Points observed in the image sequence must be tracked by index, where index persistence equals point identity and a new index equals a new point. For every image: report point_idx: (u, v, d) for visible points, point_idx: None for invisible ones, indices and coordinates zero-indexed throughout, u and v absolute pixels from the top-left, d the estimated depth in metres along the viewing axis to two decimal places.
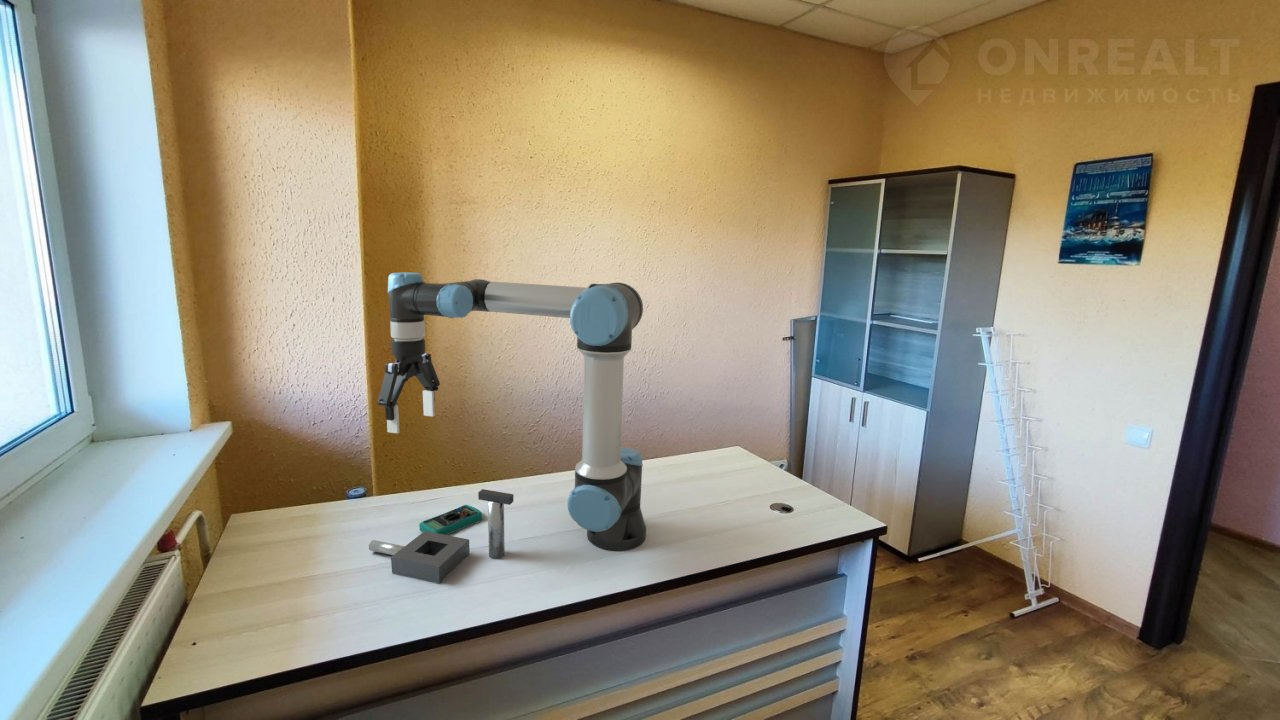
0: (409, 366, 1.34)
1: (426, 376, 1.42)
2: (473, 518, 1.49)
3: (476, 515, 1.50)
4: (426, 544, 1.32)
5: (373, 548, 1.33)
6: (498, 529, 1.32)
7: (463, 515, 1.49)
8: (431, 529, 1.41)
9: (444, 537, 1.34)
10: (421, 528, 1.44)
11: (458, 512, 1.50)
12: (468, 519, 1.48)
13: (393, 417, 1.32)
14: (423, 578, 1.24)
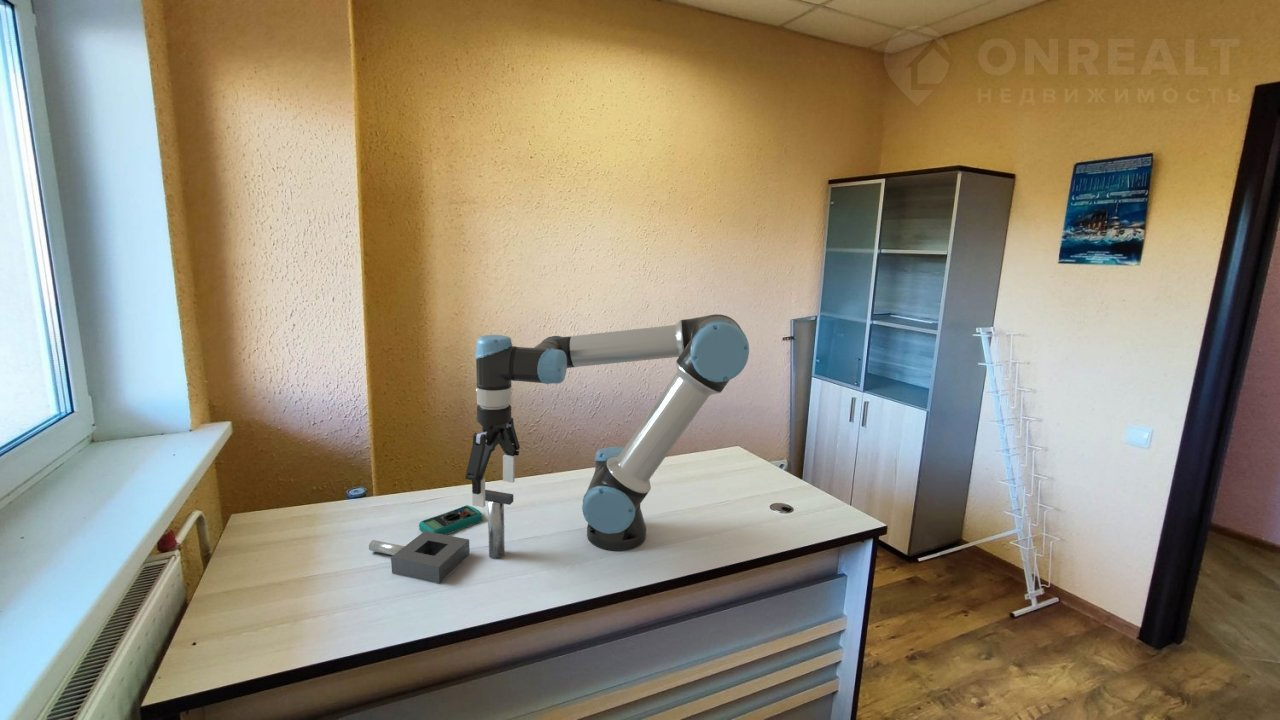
0: (495, 435, 1.26)
1: (509, 442, 1.34)
2: (473, 519, 1.48)
3: (476, 516, 1.49)
4: (426, 544, 1.32)
5: (373, 548, 1.33)
6: (498, 529, 1.32)
7: (463, 516, 1.49)
8: (429, 529, 1.41)
9: (444, 537, 1.34)
10: (420, 527, 1.44)
11: (458, 512, 1.50)
12: (468, 519, 1.47)
13: (480, 490, 1.24)
14: (423, 578, 1.24)
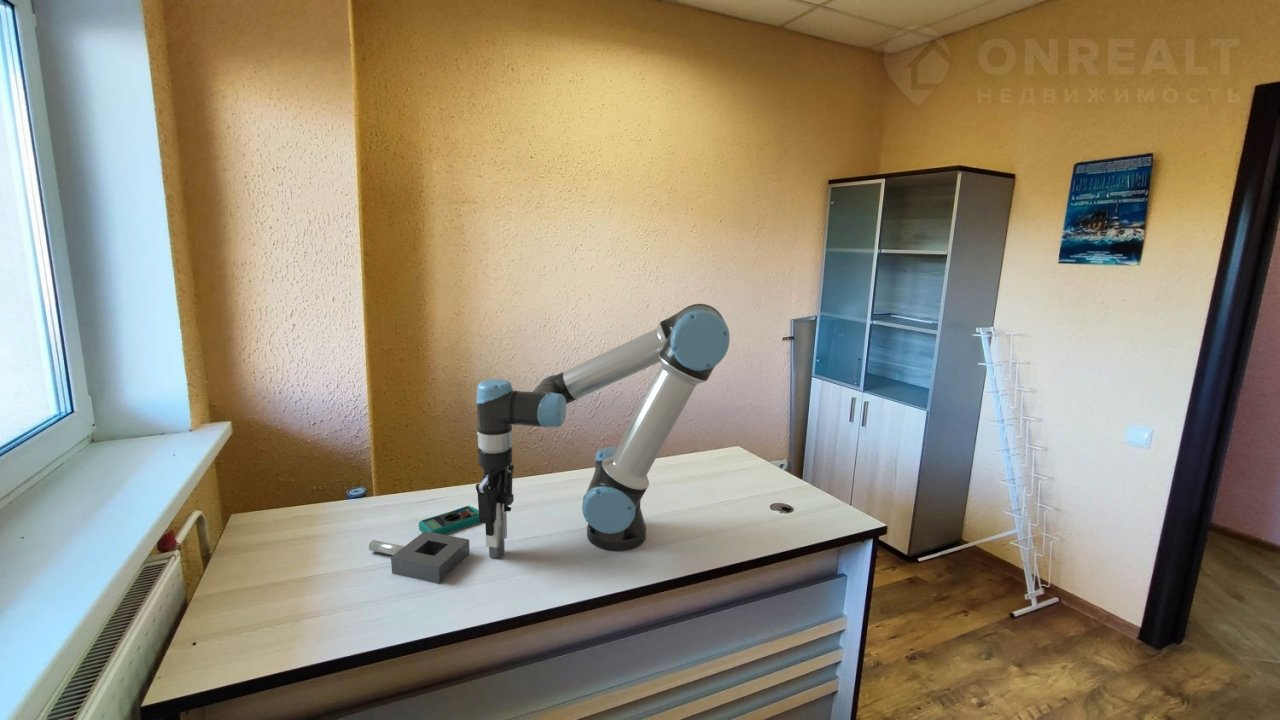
0: (496, 479, 1.29)
1: (505, 491, 1.34)
2: (473, 520, 1.48)
3: (476, 517, 1.49)
4: (426, 544, 1.32)
5: (373, 548, 1.33)
6: (498, 529, 1.32)
7: (463, 516, 1.48)
8: (428, 528, 1.41)
9: (444, 537, 1.34)
10: (420, 527, 1.44)
11: (459, 513, 1.50)
12: (467, 520, 1.47)
13: (493, 532, 1.31)
14: (423, 578, 1.24)
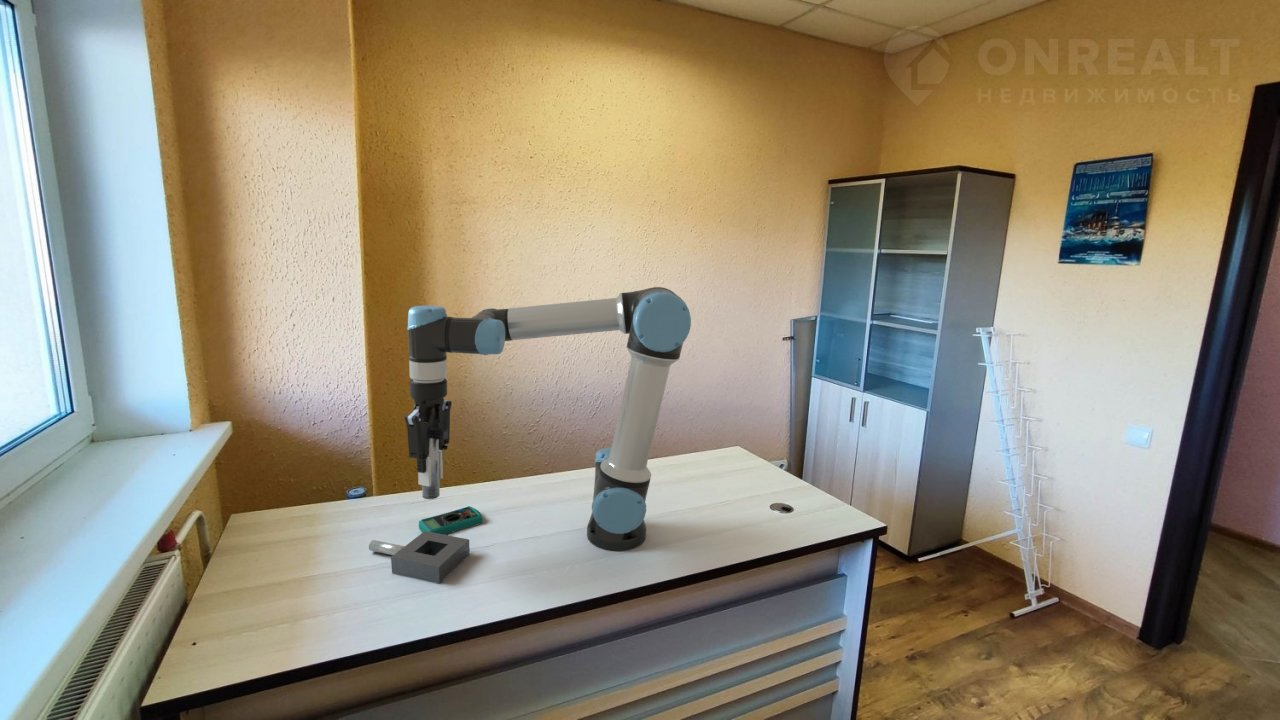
0: (429, 412, 1.21)
1: (440, 427, 1.26)
2: (472, 521, 1.48)
3: (475, 518, 1.48)
4: (426, 544, 1.32)
5: (373, 548, 1.33)
6: (431, 467, 1.24)
7: (463, 517, 1.48)
8: (426, 528, 1.42)
9: (444, 537, 1.34)
10: (419, 526, 1.45)
11: (459, 513, 1.50)
12: (466, 521, 1.47)
13: (425, 469, 1.23)
14: (423, 578, 1.24)
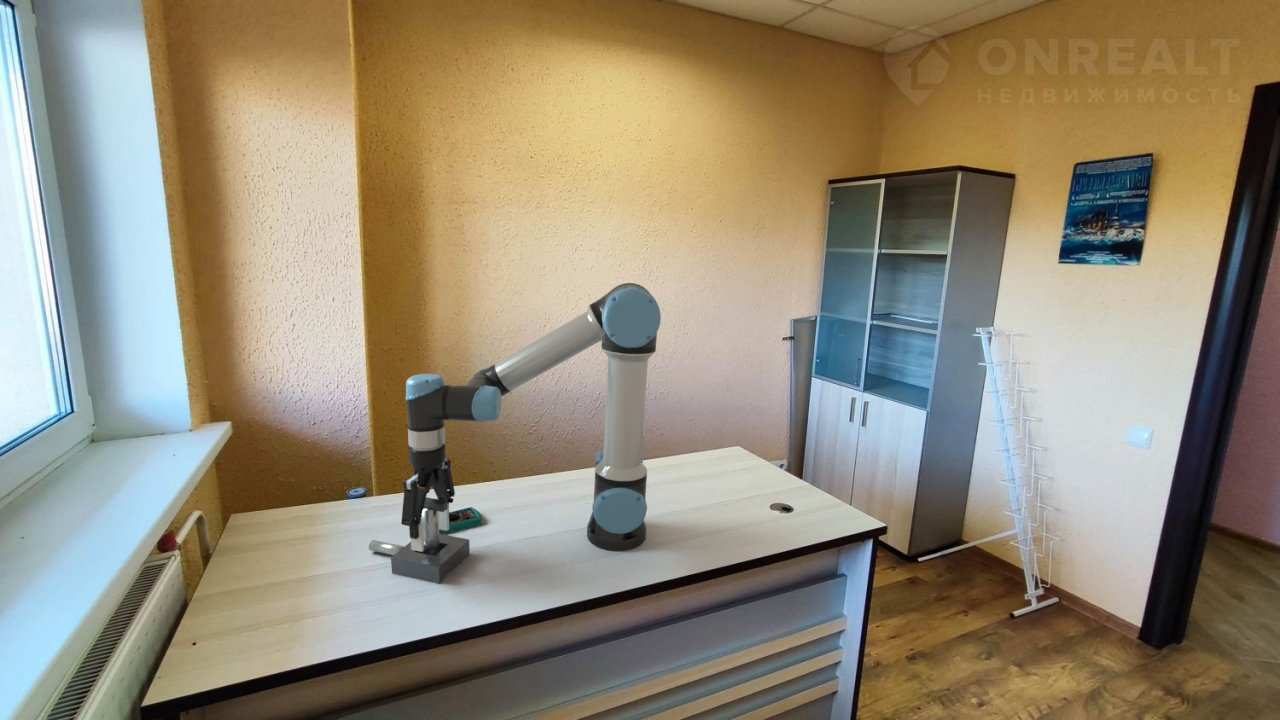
0: (428, 477, 1.24)
1: (443, 485, 1.30)
2: (471, 522, 1.47)
3: (475, 519, 1.47)
4: None
5: (373, 548, 1.33)
6: (432, 537, 1.27)
7: (462, 517, 1.48)
8: None
9: (444, 537, 1.34)
10: None
11: (460, 514, 1.50)
12: (465, 522, 1.46)
13: (418, 535, 1.23)
14: (423, 578, 1.24)
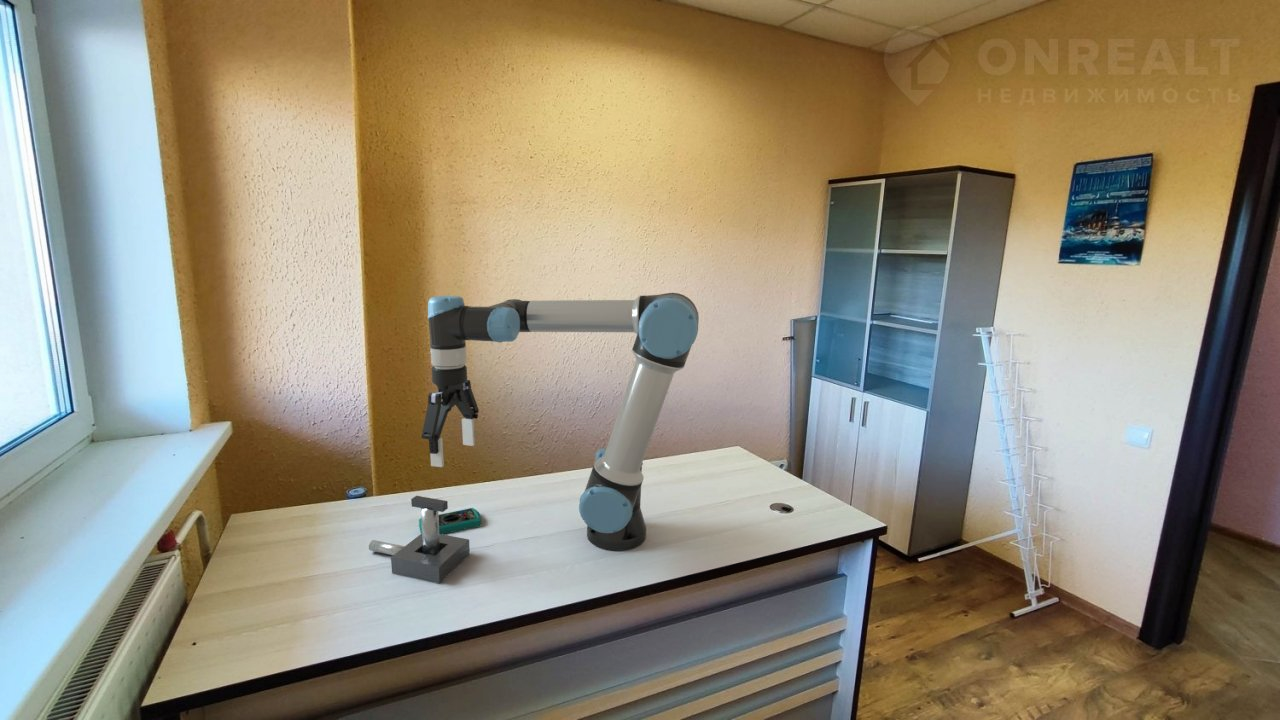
0: (451, 395, 1.27)
1: (466, 404, 1.34)
2: (470, 523, 1.46)
3: (474, 520, 1.47)
4: None
5: (373, 548, 1.33)
6: (432, 537, 1.27)
7: (462, 518, 1.47)
8: None
9: (444, 537, 1.34)
10: (419, 524, 1.46)
11: (460, 514, 1.49)
12: (464, 523, 1.46)
13: (438, 450, 1.24)
14: (423, 578, 1.24)
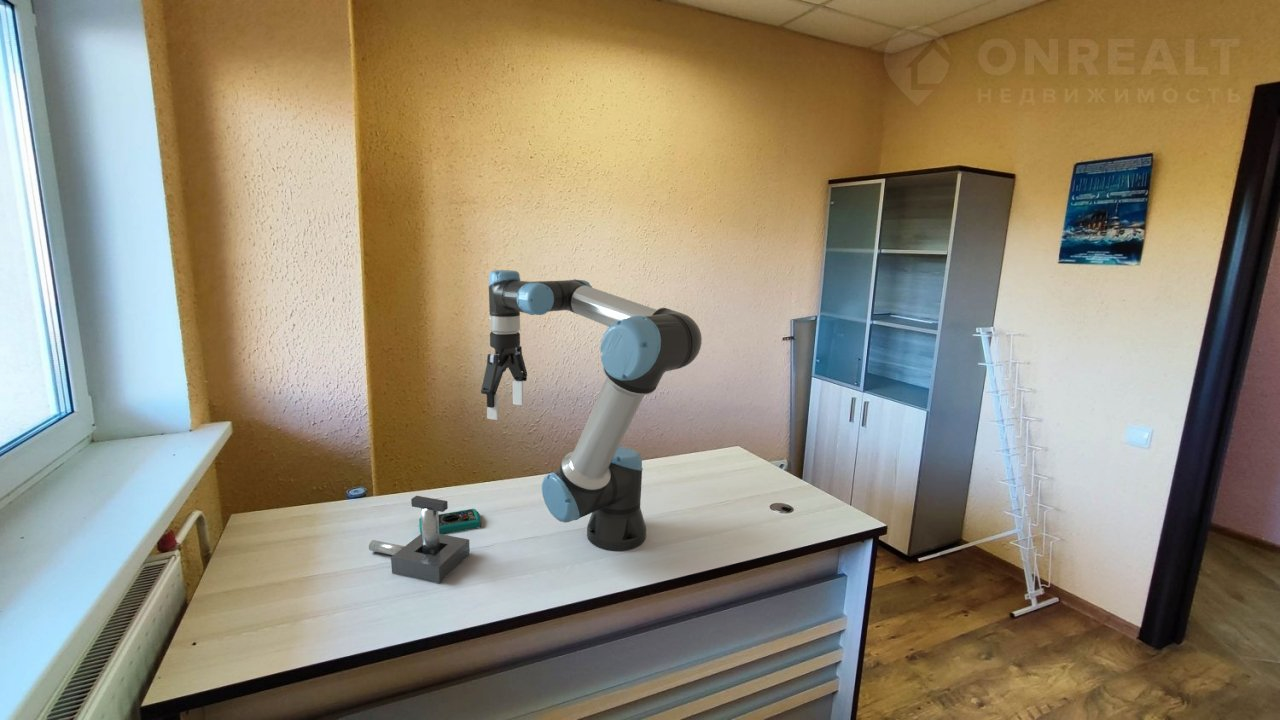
0: (506, 357, 1.44)
1: (518, 367, 1.52)
2: (469, 524, 1.46)
3: (472, 522, 1.46)
4: None
5: (373, 548, 1.33)
6: (432, 537, 1.27)
7: (461, 519, 1.47)
8: None
9: (444, 537, 1.34)
10: None
11: (460, 515, 1.49)
12: (463, 523, 1.45)
13: (494, 405, 1.42)
14: (423, 578, 1.24)
